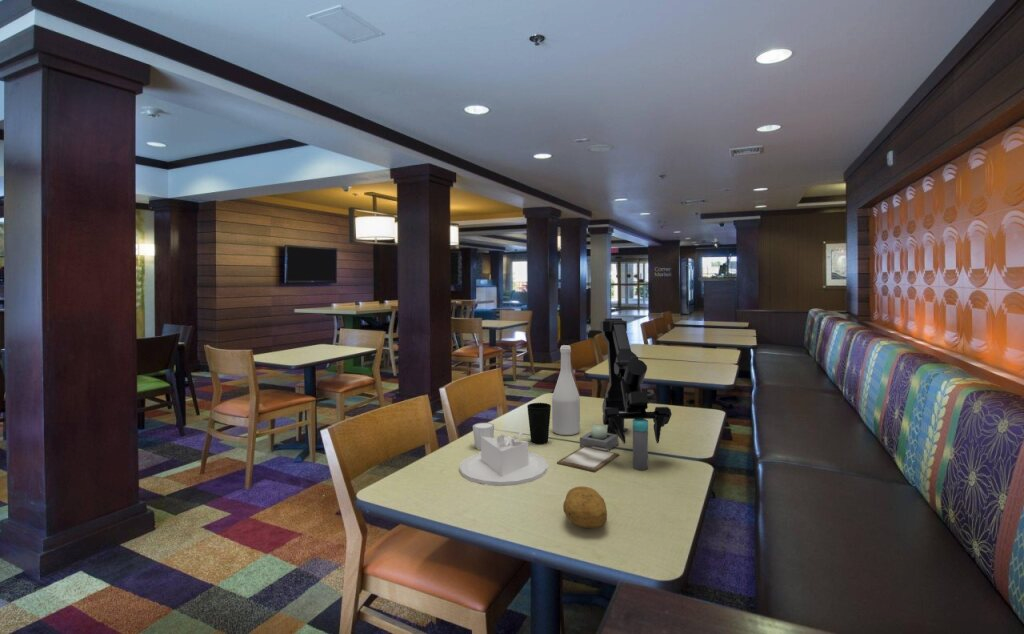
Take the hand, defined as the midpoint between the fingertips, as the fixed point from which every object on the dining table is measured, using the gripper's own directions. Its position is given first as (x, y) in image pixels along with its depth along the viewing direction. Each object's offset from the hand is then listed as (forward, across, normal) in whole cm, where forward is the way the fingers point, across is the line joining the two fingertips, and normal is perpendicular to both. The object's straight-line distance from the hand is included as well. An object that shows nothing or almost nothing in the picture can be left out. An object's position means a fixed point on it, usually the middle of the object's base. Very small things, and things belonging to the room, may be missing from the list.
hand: (641, 442), depth 142 cm
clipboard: (0, -13, +11) cm, 17 cm away
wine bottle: (-20, -18, +30) cm, 40 cm away
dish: (+4, -38, +7) cm, 39 cm away
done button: (-11, -8, +18) cm, 23 cm away
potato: (+27, -20, -16) cm, 37 cm away
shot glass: (-9, -45, +20) cm, 50 cm away
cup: (-12, -27, +23) cm, 38 cm away
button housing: (-9, -8, +20) cm, 23 cm away
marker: (+4, 0, +6) cm, 8 cm away
